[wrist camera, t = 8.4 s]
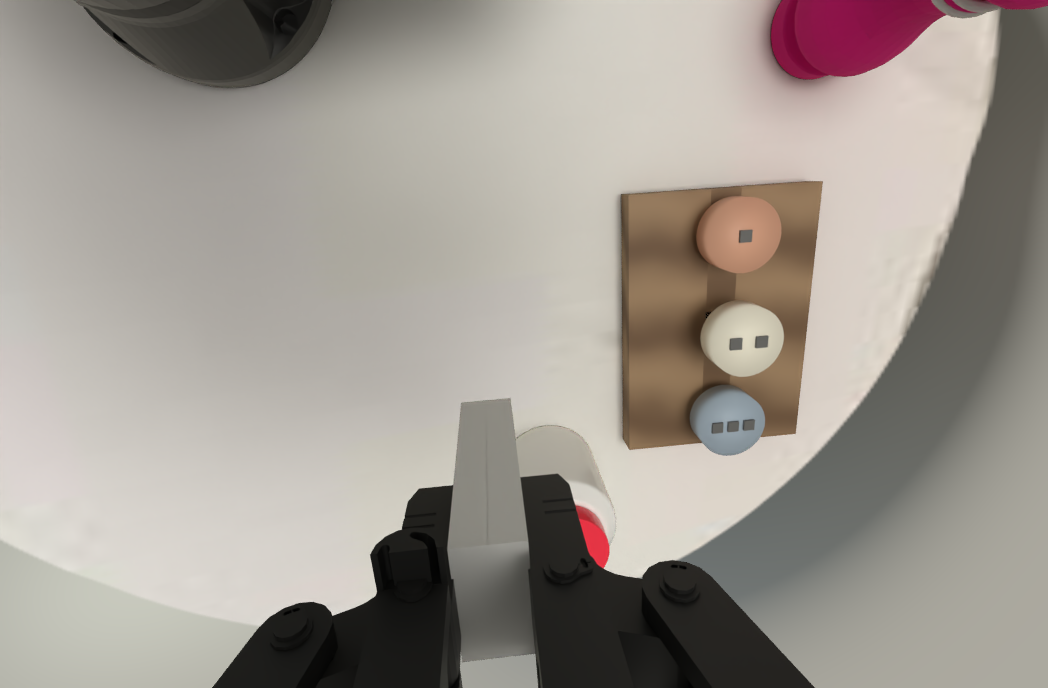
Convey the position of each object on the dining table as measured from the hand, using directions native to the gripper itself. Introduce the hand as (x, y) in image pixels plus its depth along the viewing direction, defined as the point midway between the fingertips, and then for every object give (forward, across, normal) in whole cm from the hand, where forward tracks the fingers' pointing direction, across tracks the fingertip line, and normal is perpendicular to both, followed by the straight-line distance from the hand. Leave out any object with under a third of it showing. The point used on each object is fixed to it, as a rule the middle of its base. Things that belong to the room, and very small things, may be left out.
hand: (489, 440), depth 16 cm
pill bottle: (+25, +4, -16) cm, 30 cm away
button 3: (+24, +18, -11) cm, 31 cm away
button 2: (+22, +18, -4) cm, 28 cm away
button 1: (+24, +18, +3) cm, 29 cm away
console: (+24, +18, -4) cm, 30 cm away
